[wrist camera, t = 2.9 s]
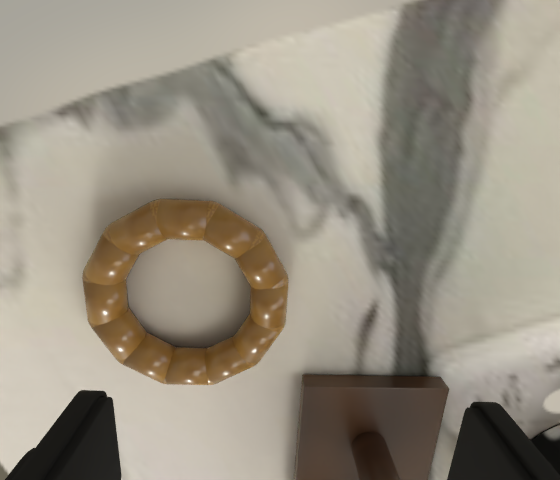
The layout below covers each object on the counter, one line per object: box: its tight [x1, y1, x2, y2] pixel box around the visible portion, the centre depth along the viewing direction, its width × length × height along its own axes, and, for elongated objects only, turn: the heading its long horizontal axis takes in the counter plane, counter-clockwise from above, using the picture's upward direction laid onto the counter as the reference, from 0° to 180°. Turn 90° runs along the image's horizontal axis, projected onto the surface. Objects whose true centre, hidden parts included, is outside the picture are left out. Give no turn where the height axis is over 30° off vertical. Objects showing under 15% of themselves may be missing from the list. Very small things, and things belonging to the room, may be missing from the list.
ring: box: [83, 199, 288, 385], centre depth 17 cm, size 10×10×2 cm
